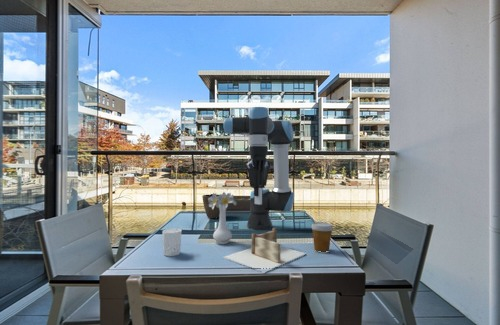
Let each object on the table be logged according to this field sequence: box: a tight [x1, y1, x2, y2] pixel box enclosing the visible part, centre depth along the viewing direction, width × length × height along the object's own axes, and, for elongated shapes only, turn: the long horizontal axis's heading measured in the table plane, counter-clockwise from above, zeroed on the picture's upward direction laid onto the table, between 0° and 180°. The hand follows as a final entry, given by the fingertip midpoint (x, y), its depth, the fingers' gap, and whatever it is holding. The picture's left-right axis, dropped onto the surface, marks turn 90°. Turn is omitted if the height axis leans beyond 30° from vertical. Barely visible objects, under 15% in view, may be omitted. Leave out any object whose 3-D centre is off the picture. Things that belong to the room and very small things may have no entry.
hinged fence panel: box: [255, 237, 282, 262], centre depth 111 cm, size 13×2×7 cm, turn 42°
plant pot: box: [201, 193, 220, 219], centre depth 195 cm, size 15×15×16 cm
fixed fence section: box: [251, 227, 278, 254], centre depth 122 cm, size 16×2×8 cm, turn 137°
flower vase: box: [208, 191, 237, 245], centre depth 135 cm, size 13×18×25 cm
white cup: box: [162, 228, 183, 257], centre depth 117 cm, size 8×8×10 cm
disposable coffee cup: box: [310, 221, 334, 252], centre depth 124 cm, size 10×10×12 cm
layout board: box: [223, 246, 307, 269], centre depth 115 cm, size 28×22×1 cm
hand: (258, 203), depth 111 cm, fingers closed
